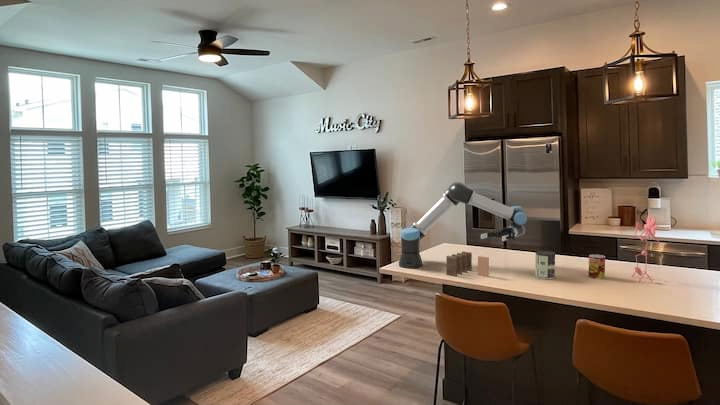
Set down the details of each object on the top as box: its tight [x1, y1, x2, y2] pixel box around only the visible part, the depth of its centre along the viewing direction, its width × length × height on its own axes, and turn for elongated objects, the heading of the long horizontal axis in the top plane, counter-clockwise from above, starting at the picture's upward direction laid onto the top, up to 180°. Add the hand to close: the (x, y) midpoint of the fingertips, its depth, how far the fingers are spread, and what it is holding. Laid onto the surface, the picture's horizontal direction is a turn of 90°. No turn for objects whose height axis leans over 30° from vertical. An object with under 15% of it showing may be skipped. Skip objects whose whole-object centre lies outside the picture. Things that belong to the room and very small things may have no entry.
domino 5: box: [477, 255, 490, 278], centre depth 245 cm, size 2×6×11 cm, turn 45°
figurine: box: [631, 215, 660, 283], centre depth 229 cm, size 15×26×35 cm, turn 169°
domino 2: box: [451, 253, 463, 275], centre depth 251 cm, size 2×6×11 cm, turn 45°
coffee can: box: [534, 250, 556, 280], centre depth 239 cm, size 10×10×14 cm
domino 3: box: [456, 252, 468, 273], centre depth 254 cm, size 2×6×11 cm, turn 46°
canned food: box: [588, 254, 606, 280], centre depth 237 cm, size 8×8×12 cm
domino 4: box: [461, 251, 473, 272], centre depth 258 cm, size 2×6×11 cm, turn 45°
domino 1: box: [446, 255, 458, 277], centre depth 247 cm, size 2×6×11 cm, turn 45°
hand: (491, 237), depth 250 cm, fingers open, 13 cm apart
